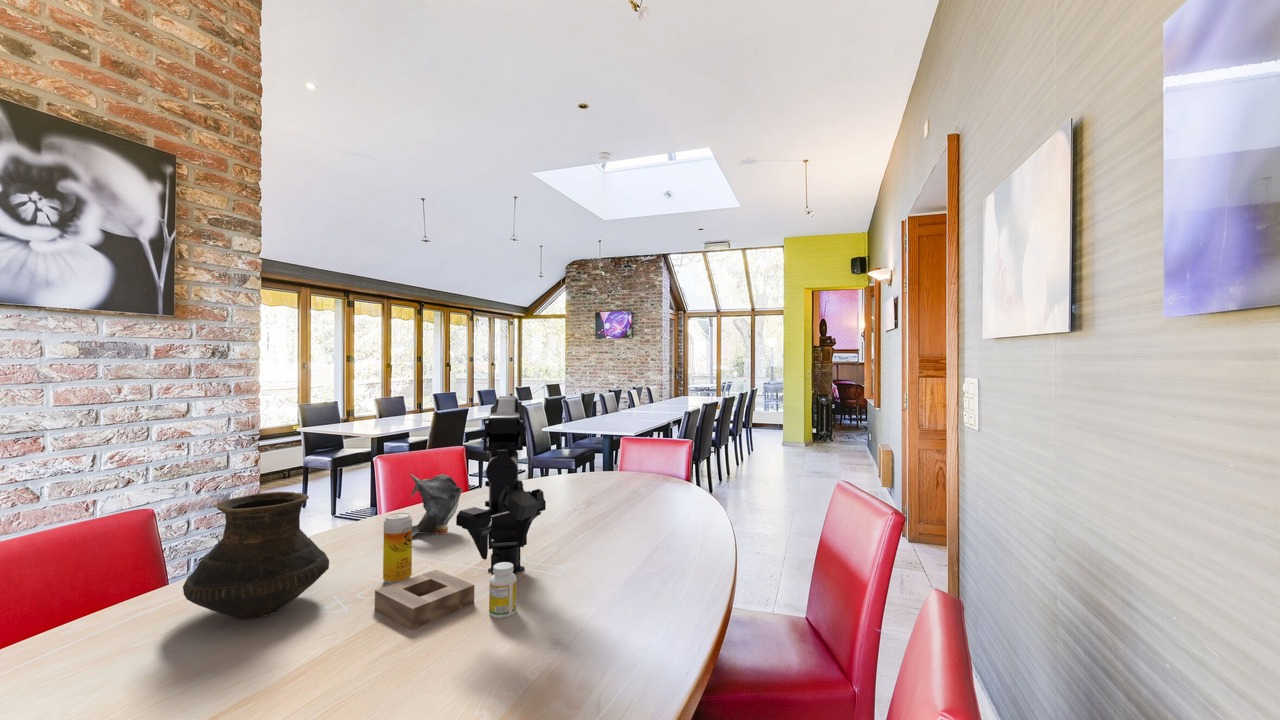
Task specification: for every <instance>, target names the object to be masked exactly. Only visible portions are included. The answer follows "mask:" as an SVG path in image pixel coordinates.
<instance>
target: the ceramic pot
mask: <svg viewBox="0 0 1280 720" xmlns="http://www.w3.org/2000/svg"><path fill="white" fill-rule="evenodd" d="M309 498H310V497H309V495H307V494H306V493H302V492H293V491H272V492H271V491H270V492H259V493H252V494H249V495H244V496H238V497H235V498H234V497H233V498H229V499H225V500H222V501H220V502H219V503H217V504H216V506H215V507H216V509H217V510H218V511H220V512H222V513H223V514H224V516H225V526H224V530H223V535H222V538H221V539H220V540H219V541H218V543H216V544H215V546H214V547H213V548H212V549H211V550H210V551H208V552H207V553H206V554H205V555H204V556H203V557H202V559H201V560H199V562H198V564H197V567H196V568H195V569H194V571H193V572H192V573H191V574H189V575H188V576H187V578H186V579H185V582H184V583H183V586H182V591H183V596H184V598H185V599H186V600H187V601H189V602H191V603H193V604H194V605H197V606H199V607H201V608H205V609H207V610H211V611H214V612H216V613H219V614H221V615H224V616H227V617H232V618H235V619H239V620H254V619H258V618H262V617H266V616H270V614H271V615H272V614H274V613H277V612H279V611H280V610H282V608H283V609H284V607H286V606H287V605H288V604H289V603H291V602H292V601H294V600H295V599H297V598H298V597H299V596H301V594H303V593H304V592H305V591H306V590H307V589H309V588H310V587H311V586H312V585H314V584H315V583H316V582H317V581H318V580H319V579H320V578H321V577H322V576H323V575H324V574H325V573H326V572H327V571H328V570H329V569H330V560H329V557H328V555H327V554H326V552H325V551H323V550H322V549H320V548H319V547H318V546H317V544H316V543H315V542H314V541H313V540H312V539H311V538H309V537H308V535H307V534H306V533H305V532H303V530H302V529H301V527H300V522H301V521H300V519H301V518H300V517H301V516H300V515H301V511H302V506H303V504H304V503H305V502H306V501H307V500H308V499H309Z"/></svg>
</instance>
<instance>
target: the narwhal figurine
mask: <svg viewBox="0 0 1280 720" xmlns="http://www.w3.org/2000/svg"><path fill="white" fill-rule="evenodd" d="M409 475H410V476H411V478H412V480H413V482H414V483H415V485H414V487H413V490H412V492H411V495H410V497H409V499H408V500H411V498H412V497H413V496H414V495H415V493H416V492H418V493H419V496H421V501H422V504H423V509H424V510H425V513H424V515H423V516H422V518H421V520H420V521H419V522H418V523H417V524H415V525H412V538H413V537H414V536H416V535H417V534H419V533H418V532H429V533H428V534H435V533H438V534H437V535H443V534H442V533H445V534H447V533H448V530H449V527H448V524H449V522H450V520H451V519H452V518H453V517H454V516H455V515H456V512H457V509H458V506H459V501H460V497H461V494H462V492H463V488H462V487H460V486H457V483H456V481H455V480H454V479H453V478H452V477H451V476H450V475H447V474H444V473H440V474H438V475H435V476H434V477H432V478H426V479H425V478H424V479H419V478H418V477H416V476H415V475H413V474H412V473H409ZM446 532H447V533H446ZM415 534H416V535H415Z"/></svg>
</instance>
